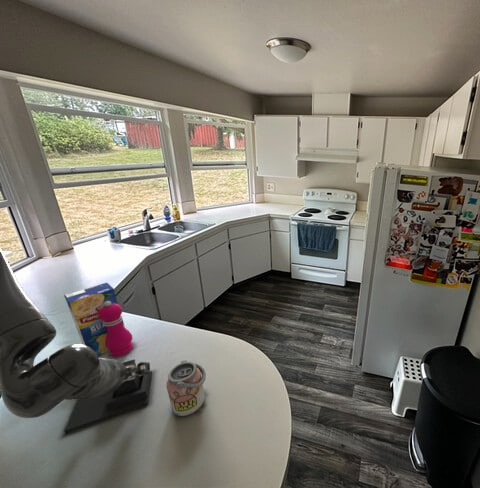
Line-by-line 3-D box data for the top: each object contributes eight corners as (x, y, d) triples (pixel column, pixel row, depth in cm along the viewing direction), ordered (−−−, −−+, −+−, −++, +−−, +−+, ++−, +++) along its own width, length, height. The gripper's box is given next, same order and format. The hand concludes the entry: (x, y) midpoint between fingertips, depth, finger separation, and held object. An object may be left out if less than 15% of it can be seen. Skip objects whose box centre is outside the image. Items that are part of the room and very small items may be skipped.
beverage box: (84, 350, 87) (63, 295, 79) (122, 333, 95) (107, 282, 88) (90, 359, 83) (69, 302, 76) (129, 340, 92) (113, 288, 84)
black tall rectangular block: (119, 401, 69) (110, 377, 66) (122, 388, 73) (114, 364, 69) (139, 394, 71) (132, 370, 68) (141, 382, 75) (134, 358, 72)
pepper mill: (140, 345, 90) (126, 297, 83) (119, 360, 83) (103, 309, 76) (124, 341, 91) (110, 293, 85) (103, 355, 85) (86, 305, 78)
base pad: (65, 433, 62) (60, 424, 60) (81, 394, 71) (78, 385, 70) (147, 404, 69) (145, 395, 68) (152, 372, 79) (150, 364, 78)
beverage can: (210, 385, 75) (205, 354, 71) (208, 411, 68) (203, 378, 64) (175, 395, 72) (167, 363, 68) (169, 423, 65) (161, 389, 61)
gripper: (137, 348, 58) (153, 354, 71) (53, 371, 51) (87, 372, 65) (139, 383, 55) (154, 382, 69) (51, 411, 49) (87, 404, 62)
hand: (122, 377), depth 67 cm, fingers open, 8 cm apart
